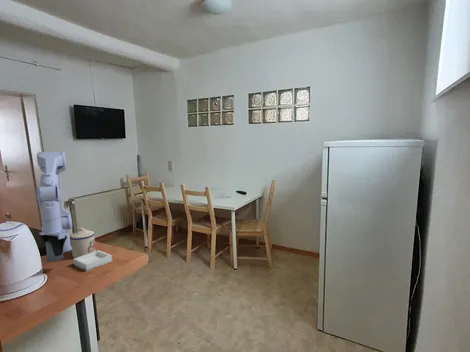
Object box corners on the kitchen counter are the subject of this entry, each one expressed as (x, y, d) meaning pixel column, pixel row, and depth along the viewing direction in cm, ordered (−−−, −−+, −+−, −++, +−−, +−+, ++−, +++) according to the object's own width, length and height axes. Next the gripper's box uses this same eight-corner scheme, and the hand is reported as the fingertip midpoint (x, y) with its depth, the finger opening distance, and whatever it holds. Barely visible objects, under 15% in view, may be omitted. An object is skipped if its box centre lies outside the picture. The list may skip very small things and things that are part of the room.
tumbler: (45, 259, 98) (43, 241, 97) (60, 254, 102) (58, 237, 101) (51, 262, 95) (49, 244, 94) (66, 257, 99) (64, 239, 99)
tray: (73, 264, 103) (73, 258, 103) (98, 255, 111) (98, 250, 111) (86, 271, 98) (86, 264, 97) (112, 261, 106) (111, 255, 106)
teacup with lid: (92, 257, 110) (90, 230, 108) (68, 260, 108) (65, 232, 107) (100, 246, 121) (98, 222, 120) (79, 248, 120) (76, 223, 118)
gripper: (30, 218, 98) (34, 253, 99) (47, 224, 90) (51, 262, 91) (52, 213, 103) (55, 247, 105) (69, 219, 95) (73, 255, 97)
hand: (55, 253), depth 99 cm, fingers closed on tumbler, 5 cm apart
